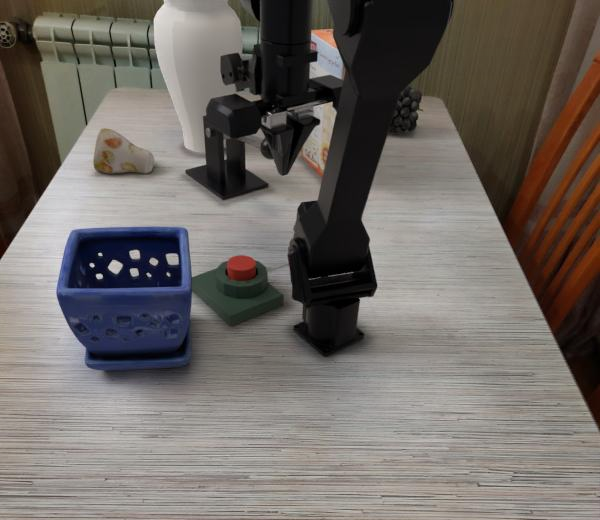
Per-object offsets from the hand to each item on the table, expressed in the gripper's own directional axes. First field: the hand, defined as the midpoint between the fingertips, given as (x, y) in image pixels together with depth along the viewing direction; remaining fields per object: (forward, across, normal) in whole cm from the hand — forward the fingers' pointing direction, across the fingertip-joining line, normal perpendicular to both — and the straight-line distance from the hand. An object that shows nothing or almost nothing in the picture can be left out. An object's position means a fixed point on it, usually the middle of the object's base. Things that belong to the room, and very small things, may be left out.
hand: (282, 174), depth 78 cm
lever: (+4, -6, -17) cm, 19 cm away
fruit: (+12, -46, -28) cm, 55 cm away
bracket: (+12, -6, -24) cm, 27 cm away
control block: (+12, +11, +5) cm, 17 cm away
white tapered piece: (+12, +6, -37) cm, 39 cm away
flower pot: (+12, +25, +7) cm, 29 cm away
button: (+9, +10, +5) cm, 14 cm away
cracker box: (+12, -24, -18) cm, 32 cm away
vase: (+12, -11, -39) cm, 42 cm away
